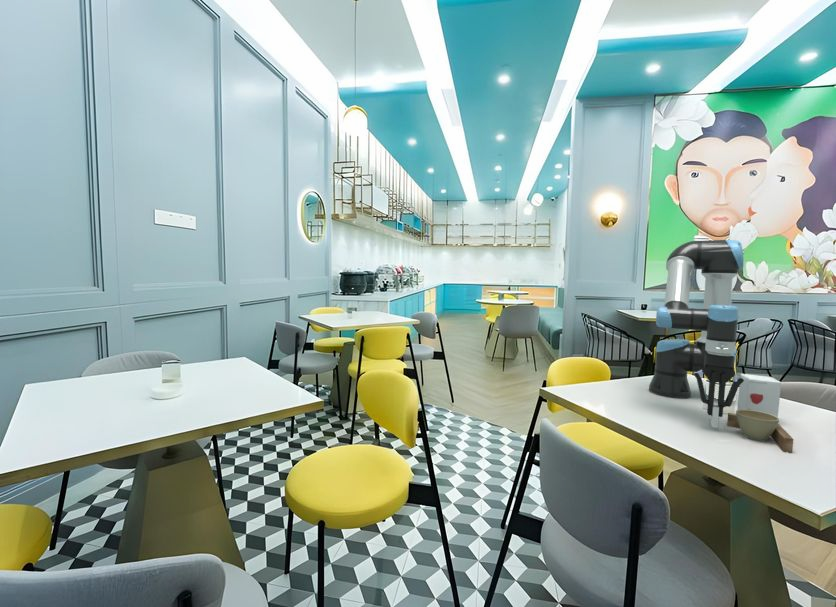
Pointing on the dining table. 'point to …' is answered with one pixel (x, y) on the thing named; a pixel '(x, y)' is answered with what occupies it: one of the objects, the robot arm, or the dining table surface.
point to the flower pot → (756, 424)
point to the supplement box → (759, 394)
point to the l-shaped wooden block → (778, 435)
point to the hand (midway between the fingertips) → (713, 425)
